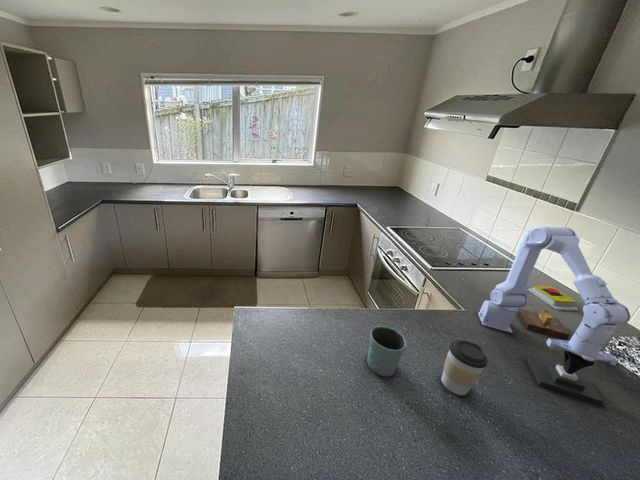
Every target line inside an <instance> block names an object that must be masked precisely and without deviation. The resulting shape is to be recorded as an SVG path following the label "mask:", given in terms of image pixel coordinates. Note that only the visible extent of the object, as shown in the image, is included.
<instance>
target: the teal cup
mask: <svg viewBox="0 0 640 480" xmlns="http://www.w3.org/2000/svg"><path fill="white" fill-rule="evenodd" d="M368 347H369V348H368V350H367V351H368V352H367V358H366V361H367V365H368V368H369V369H370V370H372V372H374V373H375V374H377V375H379V376H381V377H391V376H393V375H394V374H395V372H396V370H397V368H398V365H399V363H400V360H401V358H402V355H403V354H404V351H405V350H406V348H407V340H406V338H405V337H404V335H403V334H402V333H401V332H399V331H398V330H396V329H395V328H393V327H390V326H385V325H378V326H374V327H373V328H372V329H371V331H370V335H369V346H368Z"/></svg>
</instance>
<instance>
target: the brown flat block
mask: <svg viewBox="0 0 640 480" xmlns="http://www.w3.org/2000/svg"><path fill="white" fill-rule="evenodd" d="M517 315H518V317H519V318H520V320H521V322H522V325H523V326H524V327H525V329H526V330H530V331H532V332H537V333H540V334H544V335H548V336H551V337H555V338H559V339H562V340H565V341H568V339H569V337H570V336H571V334H570V333H569V331H568V330H567V328H566V327H565V326H564V325H563V323H562V322H561V321H560V319H559V318H558V317H554V316H552V318H553V319H552V321H551V323H550V324H549V325H545V324H543V322H542V321H541V319H540V318H539V315H540V313H539V312H534V311H530V310H527V309H523V308H520V309H519V310H517Z"/></svg>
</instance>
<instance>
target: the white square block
mask: <svg viewBox="0 0 640 480" xmlns="http://www.w3.org/2000/svg"><path fill="white" fill-rule="evenodd" d="M556 365H557V366H556V367H555V369H556V370H557V372H558V373H559V375H560V376H561V377H564V378H567V379H570V380H574V381H577V379H578V377H577V375H576V374H575V373H573V374H569V373H566V372H565V370H564V369H563V366H564V365H560V364H556Z"/></svg>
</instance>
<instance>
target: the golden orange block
mask: <svg viewBox="0 0 640 480" xmlns="http://www.w3.org/2000/svg"><path fill="white" fill-rule="evenodd" d="M539 314H540V315H539V318H540V319H541V321H542V322H543V324H545V325H549V324H550V323H551V321H552V319H553V318H552V317H553V316H552V315H551V313H550V312H549V310H548V309H541V311H540V313H539Z"/></svg>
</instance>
